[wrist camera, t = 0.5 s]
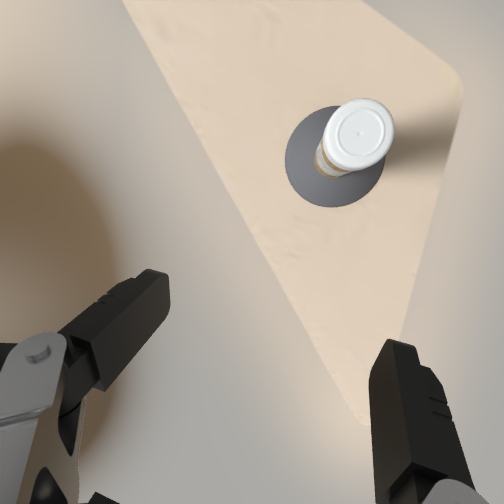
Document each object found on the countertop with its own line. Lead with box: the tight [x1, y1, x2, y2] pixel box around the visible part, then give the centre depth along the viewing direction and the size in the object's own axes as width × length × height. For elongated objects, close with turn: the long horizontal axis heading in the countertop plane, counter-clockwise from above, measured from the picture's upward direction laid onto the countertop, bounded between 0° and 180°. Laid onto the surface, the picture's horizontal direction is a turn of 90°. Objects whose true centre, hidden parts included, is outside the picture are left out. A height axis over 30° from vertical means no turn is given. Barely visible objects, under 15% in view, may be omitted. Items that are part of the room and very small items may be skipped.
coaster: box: [285, 106, 385, 207], centre depth 32 cm, size 11×11×1 cm
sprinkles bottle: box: [314, 98, 395, 178], centre depth 25 cm, size 5×5×14 cm
